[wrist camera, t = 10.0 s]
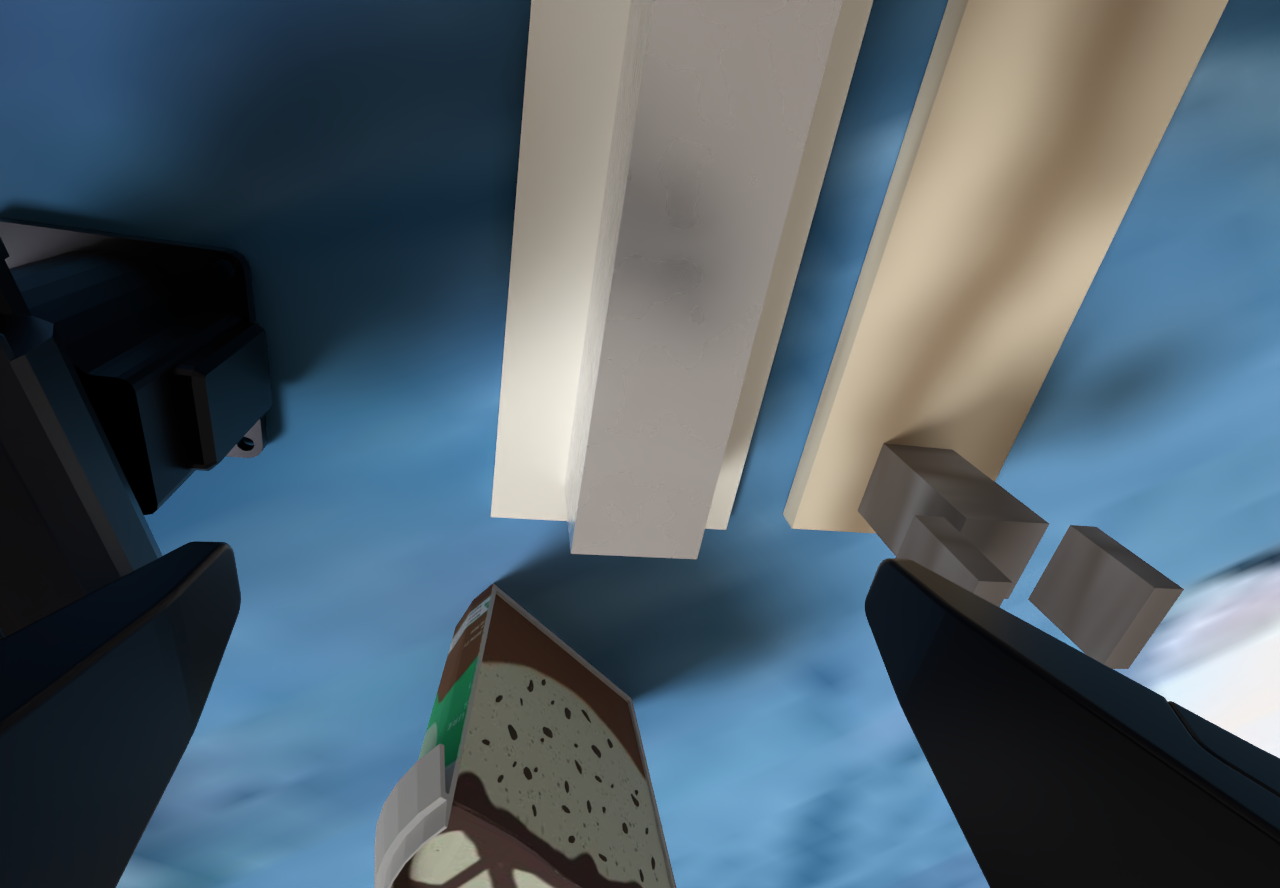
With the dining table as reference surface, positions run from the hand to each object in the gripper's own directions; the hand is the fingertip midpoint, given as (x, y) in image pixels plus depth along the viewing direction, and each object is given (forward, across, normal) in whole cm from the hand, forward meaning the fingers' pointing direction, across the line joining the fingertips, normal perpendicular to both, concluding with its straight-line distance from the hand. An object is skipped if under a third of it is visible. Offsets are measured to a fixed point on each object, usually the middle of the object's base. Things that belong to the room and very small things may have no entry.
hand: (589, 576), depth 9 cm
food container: (+13, 0, +16) cm, 21 cm away
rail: (+12, -3, -6) cm, 14 cm away
